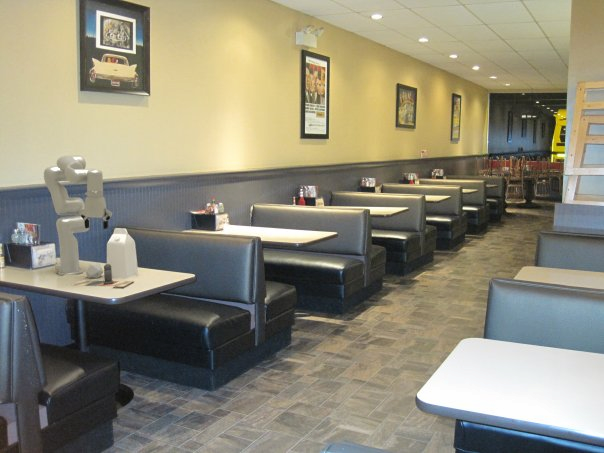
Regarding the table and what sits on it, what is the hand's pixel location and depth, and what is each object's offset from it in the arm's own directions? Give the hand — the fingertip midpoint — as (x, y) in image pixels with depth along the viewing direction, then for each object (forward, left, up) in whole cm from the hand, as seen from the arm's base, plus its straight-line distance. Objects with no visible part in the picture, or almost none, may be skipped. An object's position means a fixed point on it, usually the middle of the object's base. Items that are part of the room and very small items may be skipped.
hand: (96, 228), depth 303 cm
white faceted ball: (-7, +9, -28) cm, 30 cm away
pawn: (+8, -5, -27) cm, 29 cm away
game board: (+4, -5, -28) cm, 29 cm away
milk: (+6, +15, -28) cm, 32 cm away
